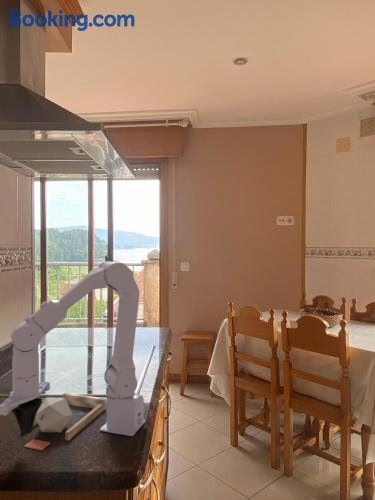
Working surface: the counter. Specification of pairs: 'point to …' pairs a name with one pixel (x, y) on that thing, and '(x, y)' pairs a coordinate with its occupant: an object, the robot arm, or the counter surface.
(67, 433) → the channel
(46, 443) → the mat
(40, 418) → the die
